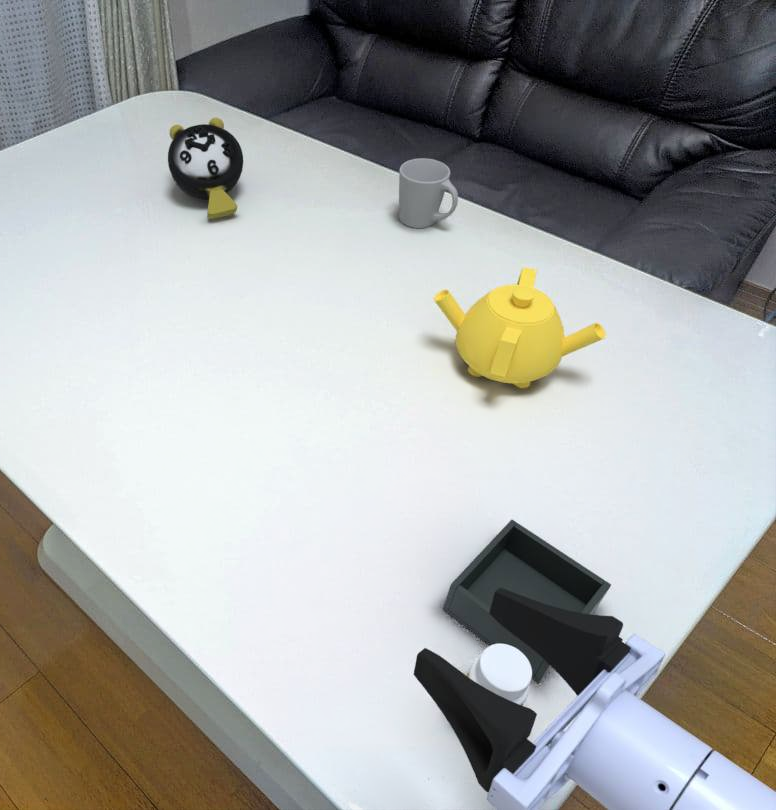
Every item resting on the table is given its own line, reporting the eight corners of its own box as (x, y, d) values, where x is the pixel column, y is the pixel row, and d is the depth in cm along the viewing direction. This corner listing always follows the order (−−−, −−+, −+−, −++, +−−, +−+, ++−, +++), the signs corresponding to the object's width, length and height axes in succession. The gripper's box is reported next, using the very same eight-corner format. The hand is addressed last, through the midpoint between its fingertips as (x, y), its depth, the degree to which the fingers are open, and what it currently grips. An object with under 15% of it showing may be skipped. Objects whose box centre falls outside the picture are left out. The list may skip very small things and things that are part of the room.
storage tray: (595, 609, 70) (611, 584, 66) (538, 683, 65) (552, 660, 62) (501, 545, 75) (511, 518, 72) (442, 609, 70) (450, 584, 67)
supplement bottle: (498, 749, 61) (522, 709, 55) (445, 715, 63) (464, 673, 57) (520, 703, 64) (546, 660, 58) (469, 672, 66) (489, 627, 60)
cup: (411, 201, 121) (418, 153, 115) (463, 223, 116) (474, 173, 110) (383, 220, 118) (389, 171, 112) (436, 243, 113) (445, 193, 107)
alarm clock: (175, 234, 124) (134, 149, 117) (219, 196, 133) (183, 115, 126) (228, 222, 117) (188, 131, 109) (271, 183, 126) (236, 96, 118)
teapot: (407, 387, 91) (420, 317, 83) (441, 304, 102) (455, 235, 94) (577, 432, 85) (608, 361, 77) (593, 338, 96) (622, 268, 88)
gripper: (768, 668, 39) (537, 531, 48) (634, 849, 31) (388, 646, 40) (721, 747, 42) (515, 607, 51) (591, 926, 35) (375, 725, 44)
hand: (458, 629), depth 46 cm, fingers open, 7 cm apart
